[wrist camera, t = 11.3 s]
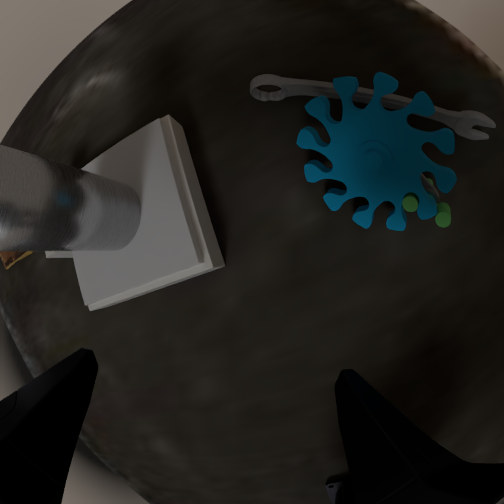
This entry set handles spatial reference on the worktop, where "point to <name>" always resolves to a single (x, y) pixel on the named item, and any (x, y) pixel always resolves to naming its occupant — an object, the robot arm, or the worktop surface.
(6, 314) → the worktop surface
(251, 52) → the worktop surface
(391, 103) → the combination wrench
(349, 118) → the gear
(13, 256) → the shard
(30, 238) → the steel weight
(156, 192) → the kitchen scale
